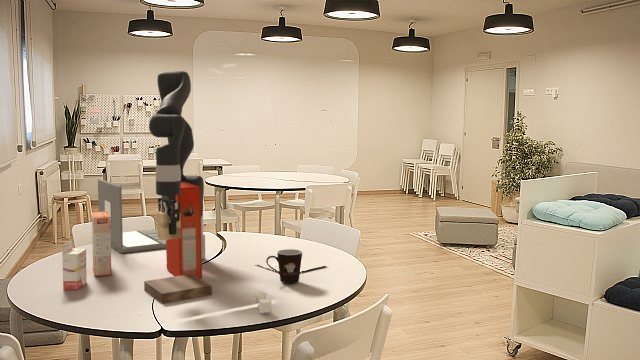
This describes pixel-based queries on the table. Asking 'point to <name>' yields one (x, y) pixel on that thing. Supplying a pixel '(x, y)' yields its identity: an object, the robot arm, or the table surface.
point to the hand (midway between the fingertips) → (169, 232)
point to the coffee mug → (288, 265)
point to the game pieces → (263, 302)
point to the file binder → (187, 235)
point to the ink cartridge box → (73, 267)
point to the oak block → (167, 227)
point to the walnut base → (177, 288)
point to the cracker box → (101, 243)
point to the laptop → (121, 240)
